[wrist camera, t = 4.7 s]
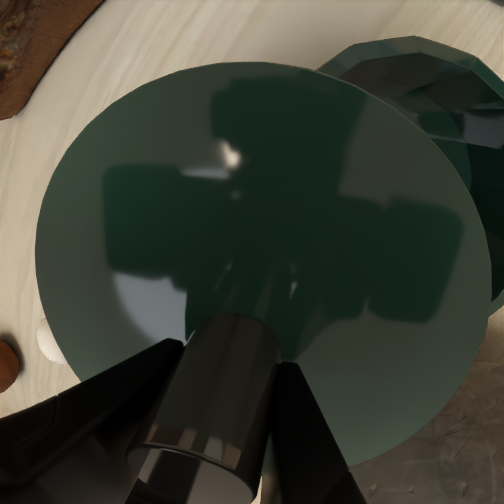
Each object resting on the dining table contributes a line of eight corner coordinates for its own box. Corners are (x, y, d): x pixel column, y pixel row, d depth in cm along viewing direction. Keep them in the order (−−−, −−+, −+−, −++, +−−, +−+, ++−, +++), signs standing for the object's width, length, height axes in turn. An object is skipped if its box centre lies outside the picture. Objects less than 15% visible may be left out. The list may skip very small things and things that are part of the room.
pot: (449, 285, 19) (493, 354, 12) (268, 259, 20) (245, 329, 13) (486, 101, 14) (562, 99, 7) (289, 56, 15) (273, 12, 9)
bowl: (448, 468, 26) (462, 569, 13) (283, 460, 29) (258, 585, 15) (552, 329, 18) (627, 447, 4) (347, 295, 20) (365, 525, 7)
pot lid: (384, 467, 11) (389, 566, 6) (92, 407, 12) (39, 484, 8) (522, 134, 6) (668, 168, 1) (48, 84, 7) (-93, 93, 3)
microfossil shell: (92, 297, 24) (53, 332, 19) (111, 348, 26) (80, 386, 21) (58, 294, 25) (20, 325, 20) (76, 342, 27) (45, 376, 22)
